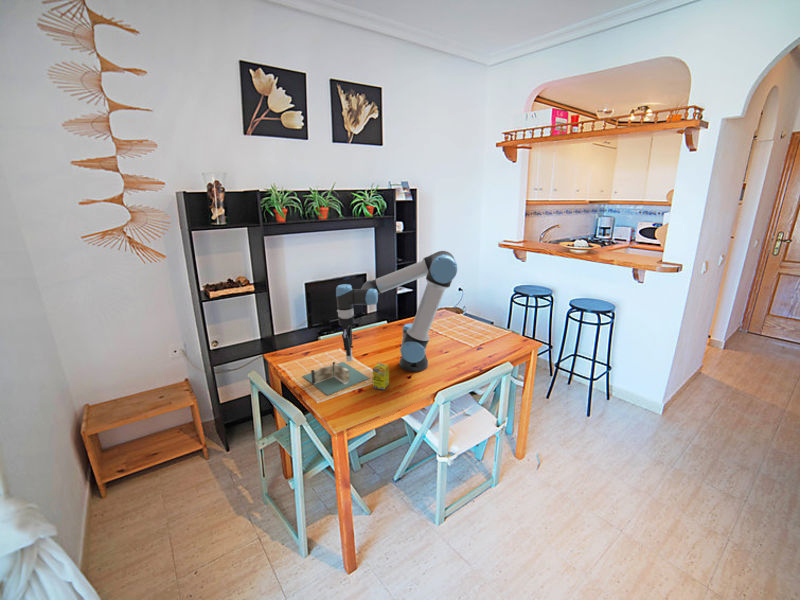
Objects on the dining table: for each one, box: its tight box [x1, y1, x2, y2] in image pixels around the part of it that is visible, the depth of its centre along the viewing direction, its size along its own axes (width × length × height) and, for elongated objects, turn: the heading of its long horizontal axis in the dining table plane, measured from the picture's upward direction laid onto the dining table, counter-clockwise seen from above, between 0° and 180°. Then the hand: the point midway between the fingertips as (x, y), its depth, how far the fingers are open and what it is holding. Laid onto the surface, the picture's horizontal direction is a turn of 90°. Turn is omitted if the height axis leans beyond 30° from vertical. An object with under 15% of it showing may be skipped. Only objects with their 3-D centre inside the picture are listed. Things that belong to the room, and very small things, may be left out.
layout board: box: [302, 361, 370, 396], centre depth 188 cm, size 24×24×1 cm
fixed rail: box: [310, 364, 333, 385], centre depth 184 cm, size 11×2×7 cm, turn 131°
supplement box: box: [372, 362, 390, 392], centre depth 178 cm, size 6×6×11 cm
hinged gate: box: [332, 361, 350, 382], centre depth 185 cm, size 11×2×7 cm, turn 49°
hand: (349, 360), depth 188 cm, fingers closed
